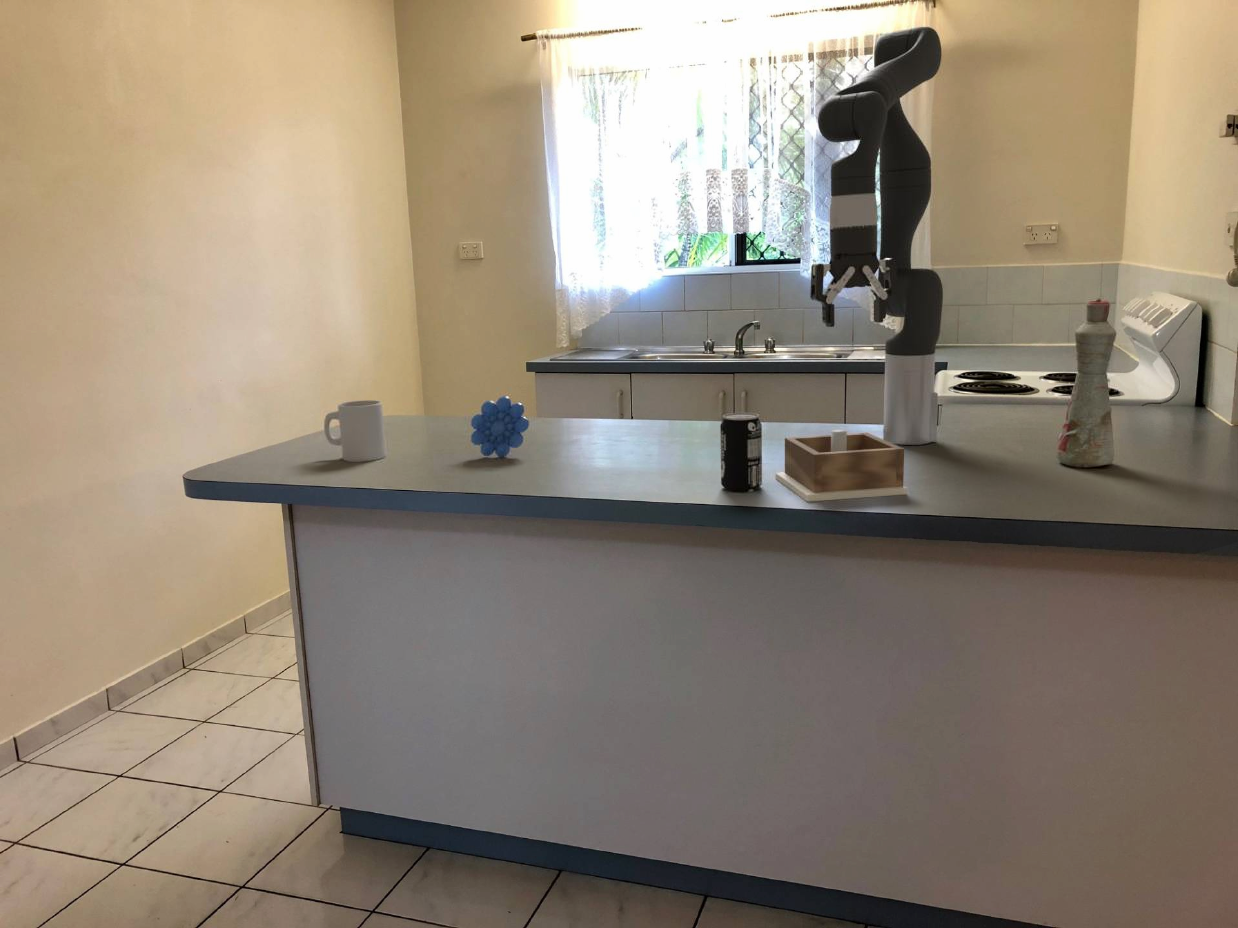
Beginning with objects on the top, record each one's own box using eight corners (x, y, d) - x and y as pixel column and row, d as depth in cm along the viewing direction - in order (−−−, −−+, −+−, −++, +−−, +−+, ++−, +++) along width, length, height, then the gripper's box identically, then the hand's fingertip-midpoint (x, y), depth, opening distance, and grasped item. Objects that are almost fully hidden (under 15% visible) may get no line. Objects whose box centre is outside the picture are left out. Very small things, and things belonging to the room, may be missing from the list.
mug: (392, 452, 195) (387, 399, 192) (378, 461, 186) (373, 406, 184) (335, 453, 196) (330, 401, 194) (319, 462, 188) (313, 407, 185)
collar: (866, 467, 161) (867, 432, 160) (903, 486, 147) (904, 448, 146) (784, 472, 159) (784, 437, 158) (813, 493, 146) (814, 454, 144)
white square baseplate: (866, 472, 162) (867, 420, 160) (906, 494, 147) (908, 437, 145) (775, 478, 160) (775, 425, 158) (807, 501, 145) (807, 443, 143)
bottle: (1091, 472, 156) (1103, 300, 150) (1044, 463, 164) (1054, 299, 158) (1125, 465, 160) (1138, 297, 154) (1078, 456, 168) (1089, 296, 162)
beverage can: (717, 484, 157) (716, 413, 155) (756, 482, 158) (756, 411, 155) (725, 494, 151) (724, 419, 148) (766, 491, 151) (765, 417, 149)
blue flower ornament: (534, 452, 190) (531, 392, 188) (528, 459, 183) (525, 397, 181) (477, 453, 191) (472, 394, 188) (469, 460, 184) (465, 399, 182)
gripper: (884, 222, 159) (884, 319, 163) (803, 227, 157) (805, 326, 161) (905, 221, 152) (904, 323, 156) (820, 226, 150) (822, 329, 153)
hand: (854, 324), depth 158 cm, fingers open, 8 cm apart
